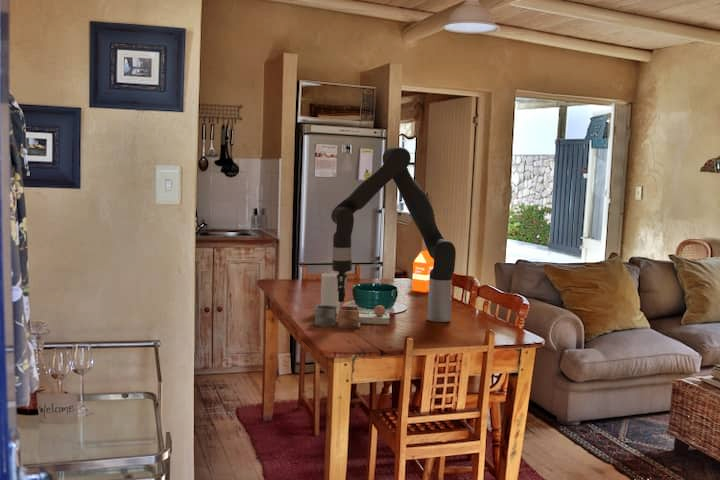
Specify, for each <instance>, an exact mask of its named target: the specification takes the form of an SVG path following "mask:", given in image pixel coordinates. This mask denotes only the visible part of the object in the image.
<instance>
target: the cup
mask: <svg viewBox="0 0 720 480" xmlns="http://www.w3.org/2000/svg"><path fill="white" fill-rule="evenodd" d="M337 275H339V273H335V272H334V273H330V272H329V273H328V272H326V273H322V274H321V279H320V280H321V283H320V305H330V306H336V315H339V307H340V306H341V302H339V301H338V287H337Z"/></svg>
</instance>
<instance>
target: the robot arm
mask: <svg viewBox="0 0 720 480" xmlns="http://www.w3.org/2000/svg"><path fill="white" fill-rule="evenodd" d="M382 163H383V164H382V166H380V167H379V169H378V170H376V172H374V173H373V174H372V175H370V176H369V177H368V178H366V179H365V180H364V181H362V182H361V183H360V185H358V186H357V188H356V189H354V190H353V191H352V192H351V194H350V195H348V197H346V198H345V199H343V201H341V202H339V203H338V205H336V206H335V207H334V208H333V210H332V212H331V215H330V218H331V220H332V222H333V223H334V224H336V230H335V232H333V237H332V257H331V258H332V261H331V262H332V263H331V264H332V268H331V269H332V271H334V272H337V273H338V274H339V275H337V287H338V301H339V302H340V303H342V302H343V303H344V302H345V297H346V287H347V282H348V274H347V272H351V271H352V268H353V267H352V263H353V262H352V261H353V252H352V234H353V230H354V225H355V215H354V214H355V213H356V212H357V211H361V210H362V209H363V208H365V206H366V205H368V203H369V202H371V200H372V199H373V198H374V196H375V195H377V193H378V192H379V191H380V190H381V189H383V188H384V186H385V185H387V184H388V183H389V182H390V181H391V180H393V182H394V183H395V185H396V187H397V189H398V192H399V194H400V196H401V197H402V199H403V203H404V205H405V207H406V208H407V211H408V213H409V215H410V217H411V218H412V220H413V222H414V224H415V226H416V227H417V229H418V231H419V233H420V234H421V237H422V240H423V242H424V245H425V247H426V251H427V250H428V253H429V255H430V256H431V257H432V259H433V260H434V264H433V269H432V270H431V271H430V276H429V291H428V297H427V299H428V302H427V314H426V316H427V317H426V318H427V319H426V320H428V321H431V322H435V323H446V322H451V319H452V315H451V314H452V301H453V299H452V288H453V287H452V284H453V275H454V272H455V270H456V269H455V267H456V266H455V265H456V258H457V257H456V255H457V251H456V246H455V245H454V244H453V242H451V241H450V240H446V239H445V238H444V237H443V236H442V233H441V232H440V230H439V228H438V226H437V223H436V218H435V213H434V209H433V206H432V203H431V202H430V199H429V197H428V195H427V194H426V192H425V191H424V190H423V187H421V186H420V184H419V183H417V182H416V181H415V179H414V178H413V177H412V175H411V173H410V171H409V169H408V167H409V166H410V163H411V153H410V151H409V150H408V149H406V148H405V147H401V146H396V147H390V148H387V149H386V150H385V151H384V152H383V154H382Z"/></svg>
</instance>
